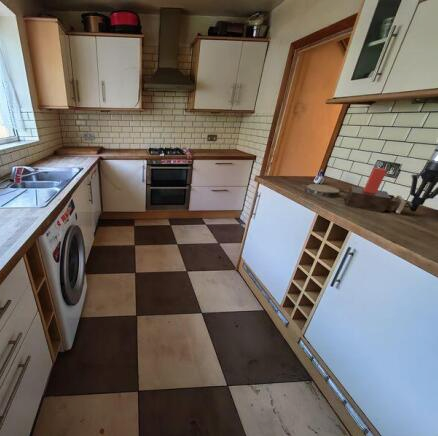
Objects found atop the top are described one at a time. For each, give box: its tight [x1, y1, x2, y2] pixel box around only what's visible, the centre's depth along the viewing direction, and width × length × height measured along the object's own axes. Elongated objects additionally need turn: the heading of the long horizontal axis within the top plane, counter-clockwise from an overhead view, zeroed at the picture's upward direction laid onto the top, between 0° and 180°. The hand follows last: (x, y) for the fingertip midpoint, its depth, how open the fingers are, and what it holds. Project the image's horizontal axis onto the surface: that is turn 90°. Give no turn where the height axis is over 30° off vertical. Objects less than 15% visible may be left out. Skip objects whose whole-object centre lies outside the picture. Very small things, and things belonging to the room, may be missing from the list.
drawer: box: [385, 194, 415, 215], centre depth 116 cm, size 18×12×6 cm
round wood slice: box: [306, 183, 340, 198], centre depth 138 cm, size 16×16×3 cm
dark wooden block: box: [345, 185, 391, 213], centre depth 120 cm, size 15×14×8 cm
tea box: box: [363, 167, 388, 194], centre depth 116 cm, size 4×4×12 cm
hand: (412, 210), depth 111 cm, fingers closed
